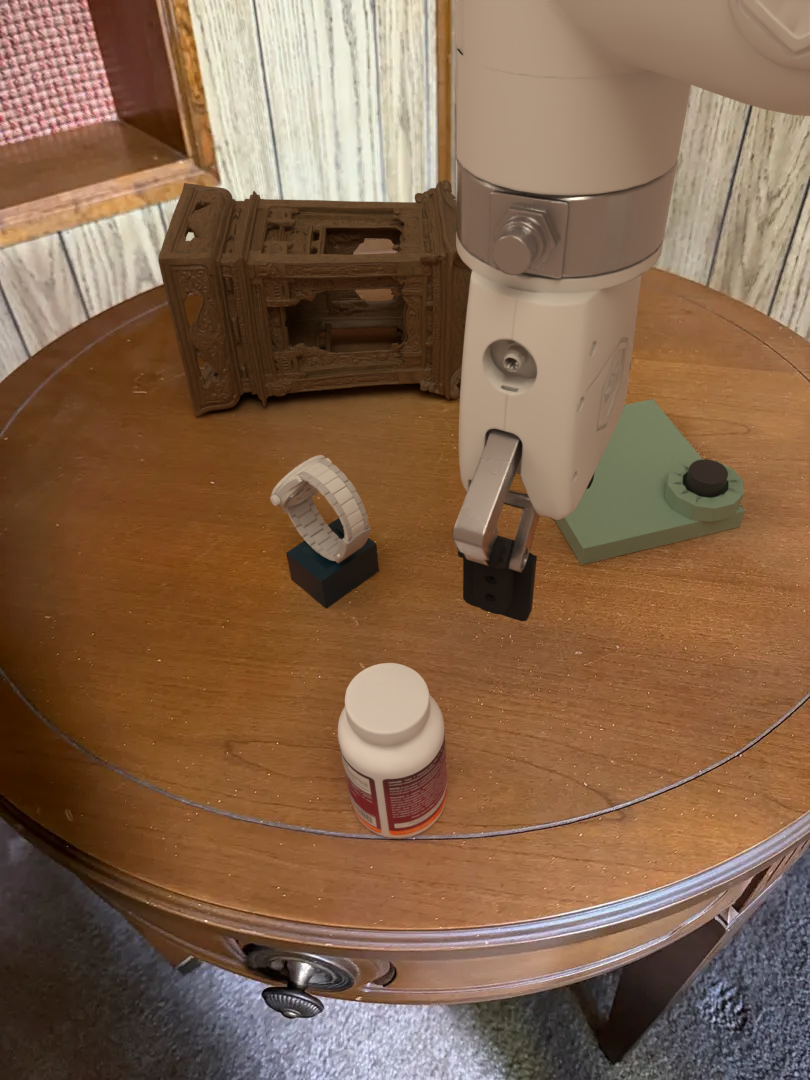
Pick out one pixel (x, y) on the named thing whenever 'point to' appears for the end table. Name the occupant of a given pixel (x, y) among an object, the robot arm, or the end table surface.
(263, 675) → the end table surface
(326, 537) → the watch
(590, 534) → the scale
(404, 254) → the brown lantern
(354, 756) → the pill bottle
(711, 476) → the button
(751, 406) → the end table surface
